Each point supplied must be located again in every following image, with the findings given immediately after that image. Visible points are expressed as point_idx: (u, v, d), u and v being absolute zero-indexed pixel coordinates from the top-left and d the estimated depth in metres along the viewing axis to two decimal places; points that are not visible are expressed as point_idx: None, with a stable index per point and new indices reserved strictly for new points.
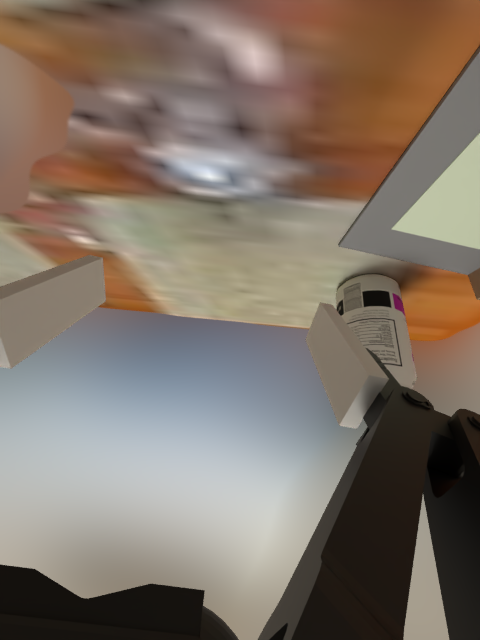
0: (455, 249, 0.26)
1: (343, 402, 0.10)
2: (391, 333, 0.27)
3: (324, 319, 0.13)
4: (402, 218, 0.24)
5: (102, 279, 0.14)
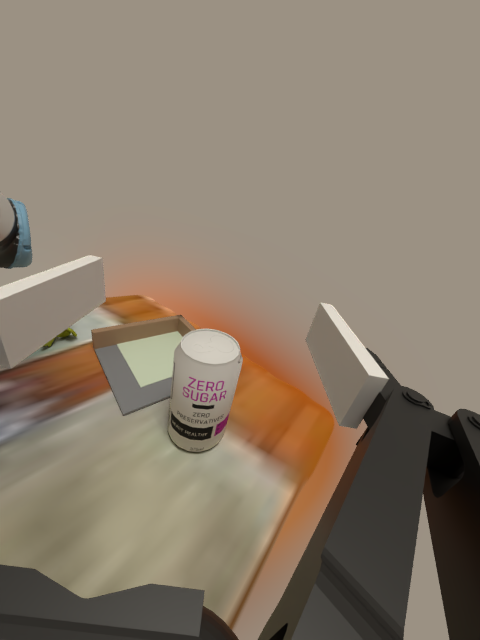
0: None
1: (343, 402, 0.10)
2: None
3: (324, 319, 0.13)
4: (138, 381, 0.39)
5: (102, 279, 0.14)
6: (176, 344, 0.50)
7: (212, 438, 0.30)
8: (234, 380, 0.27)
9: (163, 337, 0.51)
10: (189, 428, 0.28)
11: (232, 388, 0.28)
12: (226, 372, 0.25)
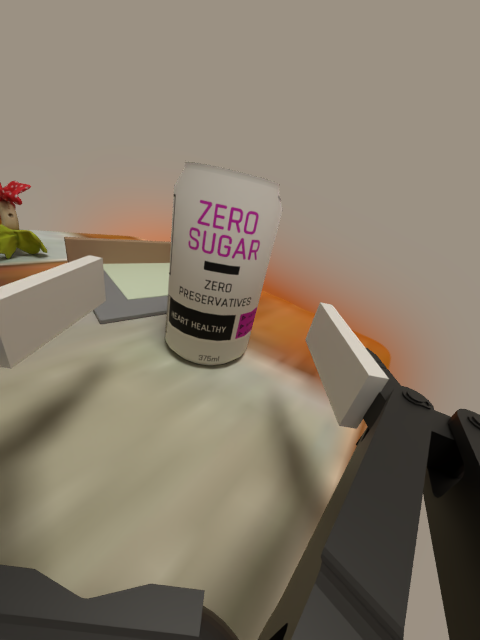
0: None
1: (343, 402, 0.10)
2: None
3: (324, 319, 0.13)
4: (125, 295, 0.29)
5: (102, 279, 0.14)
6: None
7: (233, 341, 0.20)
8: (272, 228, 0.17)
9: (160, 265, 0.41)
10: (199, 315, 0.18)
11: (267, 246, 0.17)
12: (263, 197, 0.15)
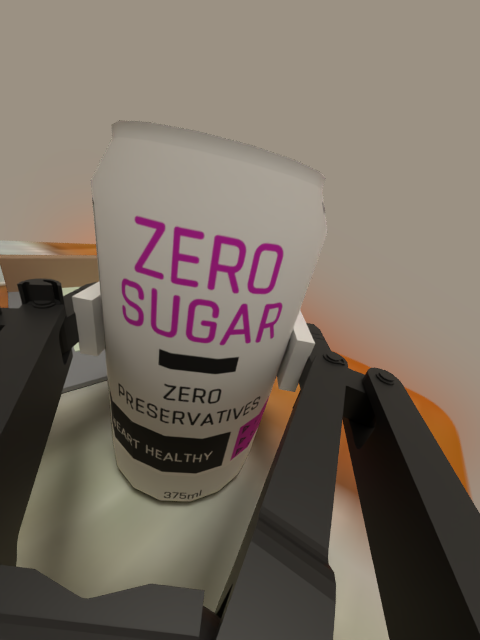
0: None
1: (282, 368, 0.11)
2: None
3: None
4: None
5: None
6: None
7: (226, 465, 0.11)
8: (308, 273, 0.08)
9: None
10: (158, 439, 0.09)
11: (296, 307, 0.08)
12: (295, 209, 0.06)
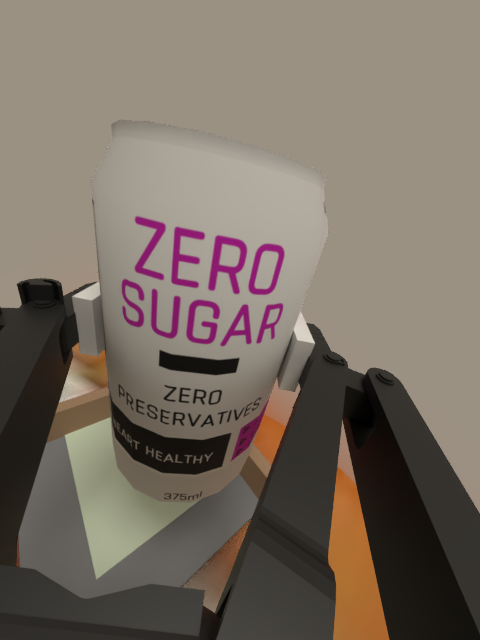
0: (202, 509, 0.21)
1: (283, 368, 0.11)
2: None
3: None
4: (94, 556, 0.17)
5: None
6: None
7: (227, 466, 0.11)
8: (309, 273, 0.08)
9: None
10: (158, 440, 0.09)
11: (297, 308, 0.08)
12: (296, 209, 0.06)
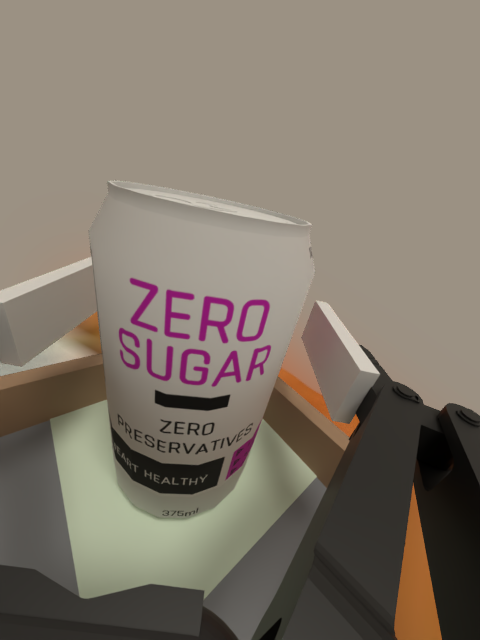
0: (278, 544, 0.12)
1: (336, 397, 0.10)
2: None
3: (319, 316, 0.13)
4: None
5: None
6: None
7: (221, 485, 0.12)
8: (295, 314, 0.08)
9: None
10: (155, 465, 0.10)
11: (285, 344, 0.09)
12: (280, 267, 0.06)
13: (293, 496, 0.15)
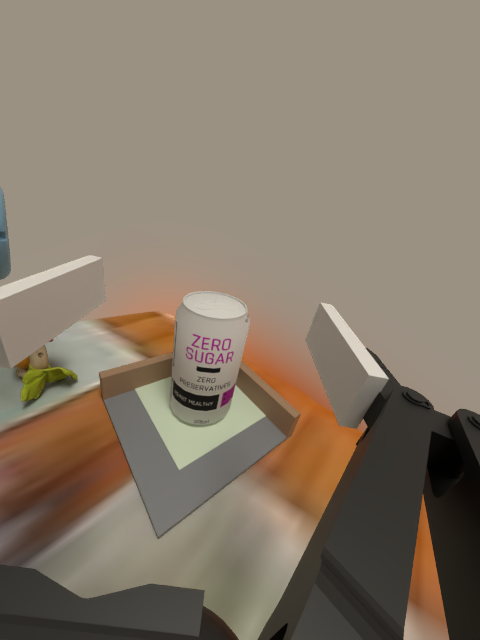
0: (243, 437, 0.29)
1: (343, 402, 0.10)
2: None
3: (324, 319, 0.13)
4: (174, 458, 0.25)
5: (102, 279, 0.14)
6: None
7: (218, 409, 0.28)
8: (242, 341, 0.25)
9: None
10: (194, 396, 0.26)
11: (239, 350, 0.26)
12: (233, 329, 0.23)
13: (252, 422, 0.31)
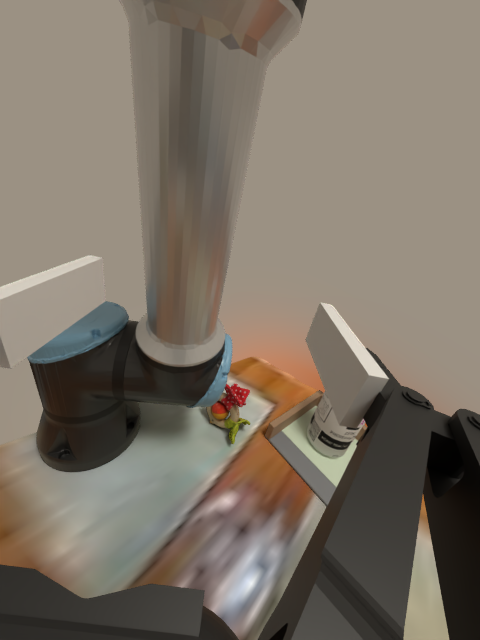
0: None
1: (343, 402, 0.10)
2: (323, 396, 0.47)
3: (324, 319, 0.13)
4: (330, 480, 0.41)
5: (102, 279, 0.14)
6: None
7: None
8: None
9: (311, 416, 0.54)
10: (338, 442, 0.43)
11: None
12: None
13: None
